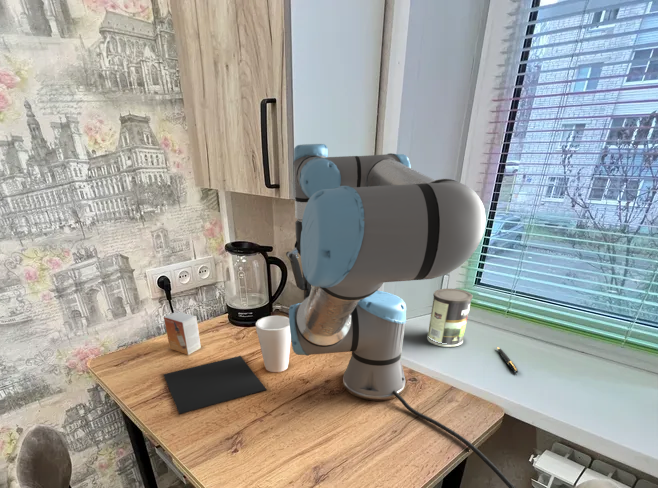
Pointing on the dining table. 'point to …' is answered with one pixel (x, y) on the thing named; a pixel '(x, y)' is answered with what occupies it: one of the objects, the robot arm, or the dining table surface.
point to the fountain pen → (508, 361)
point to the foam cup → (274, 342)
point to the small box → (182, 332)
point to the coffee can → (449, 317)
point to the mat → (212, 384)
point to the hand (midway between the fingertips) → (311, 312)
